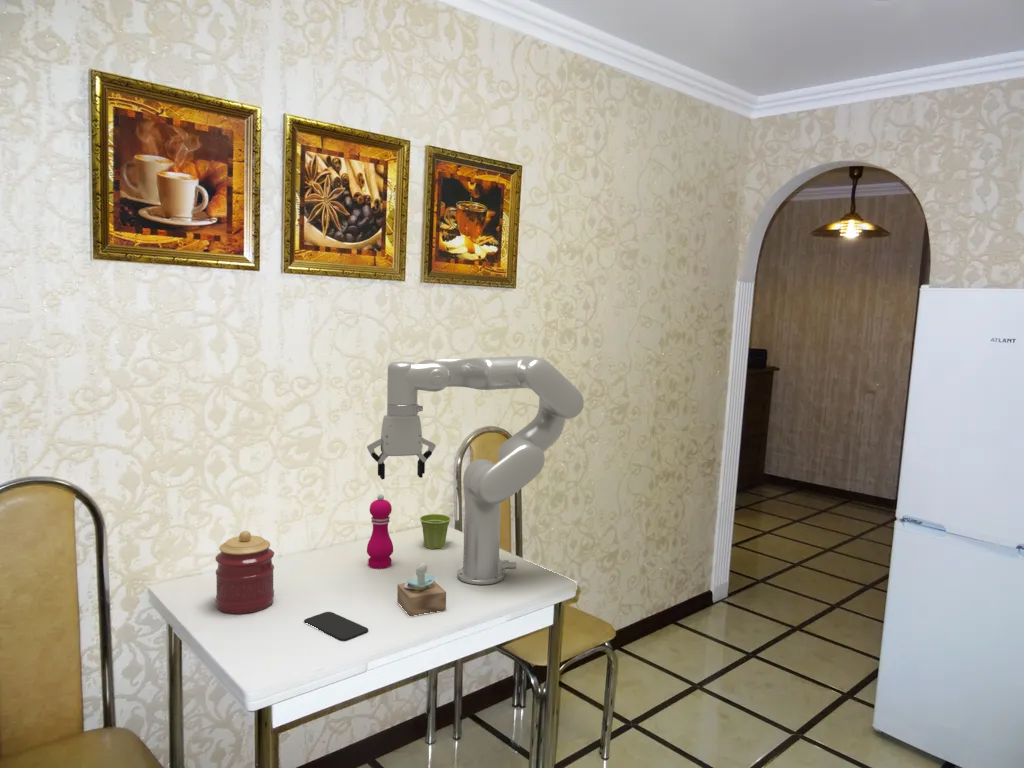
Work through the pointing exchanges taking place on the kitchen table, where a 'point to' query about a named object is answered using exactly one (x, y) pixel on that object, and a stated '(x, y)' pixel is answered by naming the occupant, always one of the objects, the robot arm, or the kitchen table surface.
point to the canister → (244, 574)
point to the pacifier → (420, 579)
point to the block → (422, 599)
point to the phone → (336, 626)
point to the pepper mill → (380, 534)
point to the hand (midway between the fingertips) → (401, 477)
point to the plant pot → (434, 530)
